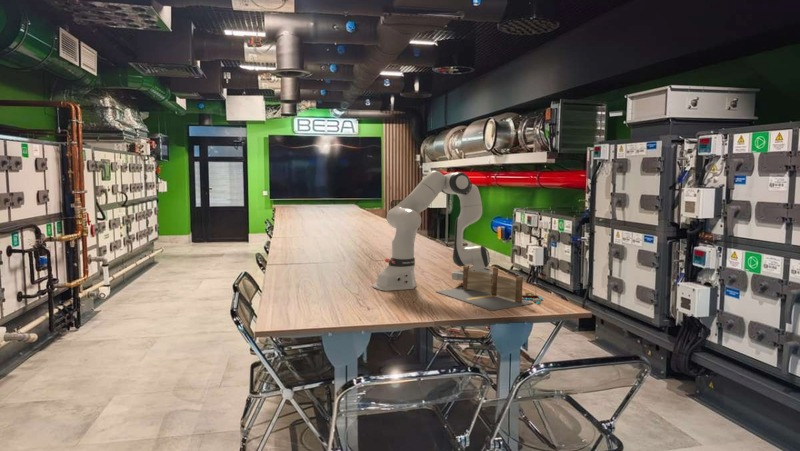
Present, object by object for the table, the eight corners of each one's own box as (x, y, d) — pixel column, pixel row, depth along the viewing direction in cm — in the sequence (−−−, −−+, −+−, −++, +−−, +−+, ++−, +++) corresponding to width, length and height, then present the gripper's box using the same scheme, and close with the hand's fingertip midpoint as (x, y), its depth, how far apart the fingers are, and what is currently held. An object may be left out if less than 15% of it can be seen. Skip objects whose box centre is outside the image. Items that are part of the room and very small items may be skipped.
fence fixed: (518, 304, 228) (519, 274, 226) (490, 295, 242) (491, 268, 241) (522, 303, 229) (523, 274, 228) (494, 295, 244) (495, 267, 242)
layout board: (491, 311, 216) (491, 309, 216) (435, 292, 249) (435, 291, 249) (532, 303, 229) (533, 302, 229) (474, 286, 262) (474, 285, 261)
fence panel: (490, 293, 242) (491, 270, 241) (462, 289, 252) (463, 266, 251) (492, 293, 244) (493, 269, 243) (465, 288, 253) (465, 265, 252)
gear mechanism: (526, 305, 228) (547, 305, 228) (526, 293, 228) (548, 293, 228) (515, 294, 248) (535, 294, 248) (515, 283, 248) (535, 283, 248)
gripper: (455, 266, 268) (448, 271, 256) (495, 270, 261) (489, 275, 248) (455, 278, 269) (447, 284, 256) (495, 282, 262) (489, 288, 249)
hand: (468, 279), depth 252 cm, fingers closed
